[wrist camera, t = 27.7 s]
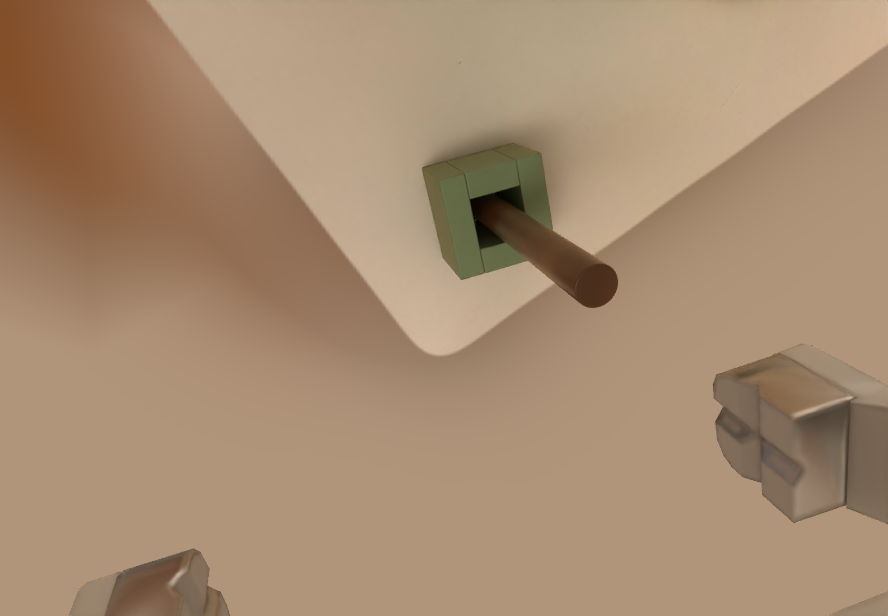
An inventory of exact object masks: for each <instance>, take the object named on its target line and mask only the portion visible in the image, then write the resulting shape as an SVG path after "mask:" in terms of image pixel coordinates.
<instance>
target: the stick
mask: <svg viewBox="0 0 888 616" xmlns="http://www.w3.org/2000/svg"><path fill="white" fill-rule="evenodd" d="M469 199H470V198H469ZM470 203H471V208H472V213H473V217H475V218H476V219H477V220H478V221H479V222H481V223H482V224H483V225H484V226H486V227H487V228H488V229H489V230H491V231H492V232H493V233H494V234H495V235H497V236H498V237H499V238H500V239H502V240H503V241H504V242H505V243H507V244H508V245H509V246H510V247H511V248H513V249H514V250H515V251H516V252H518V253H519V254H520V255H521V256H523V257H524V258H525V259H526V260H528V261H529V262H530V263H531V264H532V265H534V266H535V267H536V268H537V269H539V270H540V271H541V272H542V273H544V274H545V275H546V276H547V277H548V278H550V279H551V280H552V281H553V282H555V283H556V284H557V285H558V286H560V287H561V288H562V289H563V290H565V291H566V292H567V293H568V294H569V295H571V296H572V297H573V298H574V299H576V300H577V301H578V302H579V303H581V304H582V305H583V306H586V307H589V308H596V307H600V306H603V305H605V304H606V303H608V302H609V301H610V300H611V299H612V298H613V296H614V294H615V293H616V290H617V286H618V279H617V275H616V272H615V271H614V270H613V269H612V268H611V267H610V266H608V265H607V264H605V263H604V262H602V261H601V260H599V259H597V258H596V257H594V256H593V255H591V254H589V253H588V252H586V251H585V250H583V249H581V248H580V247H578V246H577V245H575V244H573V243H572V242H570V241H569V240H567V239H565V238H564V237H562V236H561V235H559V234H557V233H556V232H554V231H553V230H551V229H549V228H548V227H546V226H545V225H543V224H542V223H540V222H538V221H537V220H535V219H534V218H532V217H530V216H529V215H527V214H526V213H524V212H522V211H521V210H519V209H518V208H516V207H514V206H513V205H511V204H510V203H508V202H506V201H505V200H503V199H502V198H500V197H498V196H497V195H495V194H494V193H491V194H487V195H484V196H480V197H477V198H473V199H470Z"/></svg>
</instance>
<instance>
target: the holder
mask: <svg viewBox="0 0 888 616" xmlns="http://www.w3.org/2000/svg"><path fill="white" fill-rule="evenodd" d="M422 170H423V175H424V179H425V183H426V188H427V192H428V196H429V200H430V205H431V209H432V213H433V218H434V222H435V226H436V231H437V235H438V239H439V244H440V248H441V252H442V256H443V258H444V260H445V261H446V262H447V263H448V265H449V266H450V267H451V268H452V269H453V271H454V272H455V273H456V274H457V275H458V277H459V278H460V279H461V280H463V279H467V278H470V277H473V276H477V275H480V274H484V272H485V273H487V272H491V271H494V270H497V269H501V268H504V267H508V266H511V265H514V264H518V263H521V262H525V261H528V260H526V259H525V258H524V257H523V256H521V255H520V254H519V253H518V252H516V251H515V250H514V249H513V248H511V247H510V246H509V245H508V244H507V243H505V242H504V241H503V240H502V239H500V238H499V237H498V236H497V235H495V234H494V233H493V232H492V231H491V230H489V229H488V228H487V227H486V226H484V225H483V224H482V225H478V226H475V223H474V218H473V213H472V208H471V203H470V199H473V198H477V197H480V196H484V195H487V194H491V193H494V192H498V191H499V193H500V198H502V199H503V200H505V201H506V202H508V203H510V204H511V205H513V206H514V207H516V208H518V209H519V210H521V211H522V212H524V213H526V214H527V215H529V216H530V217H532V218H534V219H535V220H537V221H538V222H540V223H542V224H543V225H545V226H546V227H548V228H549V229H551V230H553V228H552V221H551V215H550V208H549V202H548V196H547V189H546V183H545V177H544V170H543V164H542V157H541V153H540V152H537V151H534V150H531V149H528V148H526V147H523V146H520V145H517V144H514V143H512V144H508V145H504V146H501V147H497V148H493V149H491V150H486V151H482V152H479V153H475V154H471V155H468V156H464V157H460V158H456V159H453V160H449V161H446V162H442V163H438V164H434V165H430V166H427V167H423V168H422ZM469 198H470V199H469Z"/></svg>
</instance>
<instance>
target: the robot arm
mask: <svg viewBox="0 0 888 616" xmlns="http://www.w3.org/2000/svg"><path fill="white" fill-rule="evenodd" d="M713 392H714V399H715V400H716V401H718V402H719V403H720V404H721V405H722V406H723V408H722V410H721V412H720V414H719V416H718V417H717V419H716V421H715V425H716V434H717V440H718V443H719V445H720V448H721V450H722V453H723V455H724V457H725V458H726V459H727V461H728V462H729V464H730V465H731V467H732V468H734V469H735V470H736V471H737V472H738V473H739V474H740V475H741V476H742V477H744V478H747V479H751V480H754V481H757V482H761V483H762V495H763V496H764V497H765V498H767V500H769V501H770V502H771V503H772V504H773V505H774V506H775V507H776V508H778V509H779V510H780V511H781V512H782V513H783V514H784V515H786V516H787V517H788V518H789V519H790V520H791V521H792V522H793V523H795V522H798V521H801V520H804V519H807V518H810V517H813V516H815V515H818V514H821V513H824V512H827V511H830V510H833V509H836V508H839V507H842V506H845V505H847V507H846V508H848V509H850V510H853V511H856V512H858V513H861V514H863V515H866V516H868V517H871V518H874V519H876V520H879V521H881V522H884V523H887V524H888V385H886V384H884V383H882V382H881V381H879V380H876V379H875V378H873V377H871V376H869V375H867V374H865V373H863V372H861V371H860V370H858V369H856V368H854V367H852V366H850V365H848V364H847V363H845V362H843V361H841V360H839V359H837V358H835V357H833V356H831V355H830V354H828V353H826V352H824V351H822V350H820V349H818V348H816V347H814V346H813V345H807V344H800V345H797V346H794V347H791V348H789V349H786V350H783V351H781V352H778V353H775V354H773V355H772V356H770V357H767V358H764V359H761V360H758V361H755V362H752V363H749V364H746V365H743V366H740V367H737V368H734V369H731V370H729V371H726V372H723V373H720V374H717V375H716V377H715V380H714V383H713ZM208 577H209V567H208V565H207V563H206V562H205V560H204V558H203V556H202V554H201V552H200V551H197V550H195V549H190V550H187V551H184V552H181V553H178V554H174V555H171V556H168V557H165V558H162V559H158V560H155V561H152V562H149V563H145V564H142V565H139V566H136V567H133V568H129V569H126V570H124V571H123V572H117V573H114V574H111V575H108V576H105V577H102V578H99V579H96V580H93V581H90V582H87V583H86V584H85V585H84V586H82V587H81V588H80V589H79V591H78V593H77V596H76V598H75V601H74V603H73V606H72V609H71V611H70V614H69V616H230V614H229V611H228V608H227V604H226V602H225V600H224V598H223V596H222V594H221V592H220V591H218V590H215V589H213V588H211V587H209V586H207V583H208ZM827 616H888V591H887V592H885V593H883V594H880V595H877V596H875V597H872V598H870V599H867V600H865V601H862V602H860V603H857V604H855V605H852V606H850V607H847V608H845V609H842V610H840V611H837V612H835V613H832V614H830V615H827Z"/></svg>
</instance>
